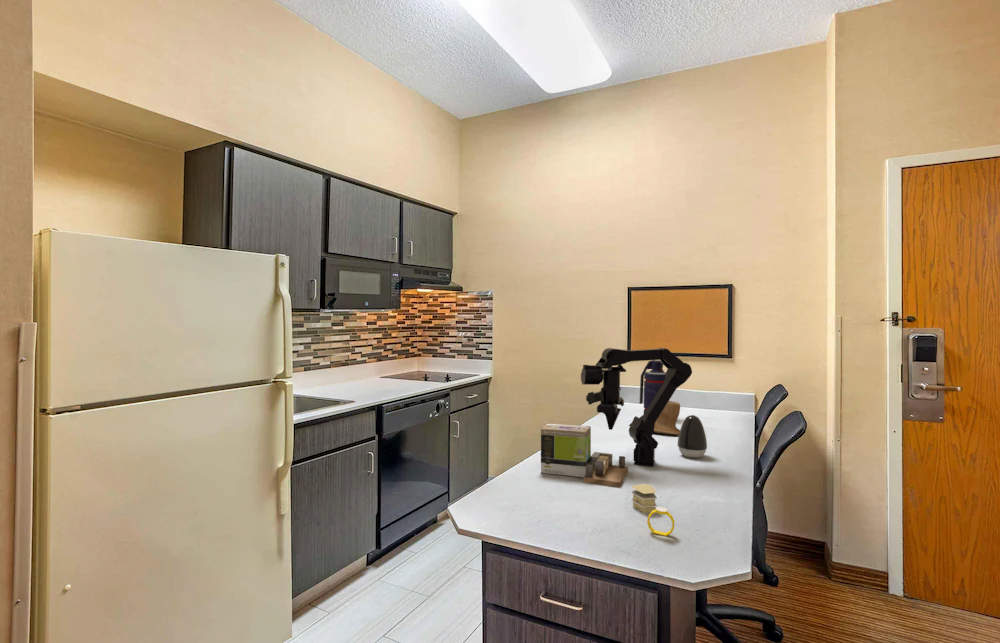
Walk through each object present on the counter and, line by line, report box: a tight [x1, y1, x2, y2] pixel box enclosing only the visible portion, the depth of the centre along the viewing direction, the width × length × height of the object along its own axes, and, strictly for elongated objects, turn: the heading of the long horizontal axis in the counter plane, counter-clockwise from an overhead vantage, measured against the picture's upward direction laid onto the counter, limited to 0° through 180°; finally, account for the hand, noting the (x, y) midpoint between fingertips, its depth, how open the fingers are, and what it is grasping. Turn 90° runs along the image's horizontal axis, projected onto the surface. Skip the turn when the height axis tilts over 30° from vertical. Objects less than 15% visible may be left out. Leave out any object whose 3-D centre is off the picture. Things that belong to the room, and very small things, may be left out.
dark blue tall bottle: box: [639, 360, 666, 414], centre depth 247 cm, size 14×12×30 cm
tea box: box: [540, 423, 592, 478], centre depth 165 cm, size 15×10×15 cm
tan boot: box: [653, 400, 681, 435], centre depth 223 cm, size 15×12×15 cm
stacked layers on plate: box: [631, 483, 657, 514], centre depth 134 cm, size 10×9×6 cm
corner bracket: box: [590, 451, 614, 470], centre depth 165 cm, size 6×6×4 cm
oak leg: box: [595, 455, 609, 476], centre depth 161 cm, size 11×3×4 cm, turn 160°
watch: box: [646, 506, 675, 537], centre depth 118 cm, size 6×3×6 cm, turn 67°
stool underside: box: [583, 455, 629, 488], centre depth 160 cm, size 11×17×5 cm, turn 158°
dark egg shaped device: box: [677, 414, 708, 459], centre depth 185 cm, size 10×10×15 cm
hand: (610, 429), depth 174 cm, fingers closed
